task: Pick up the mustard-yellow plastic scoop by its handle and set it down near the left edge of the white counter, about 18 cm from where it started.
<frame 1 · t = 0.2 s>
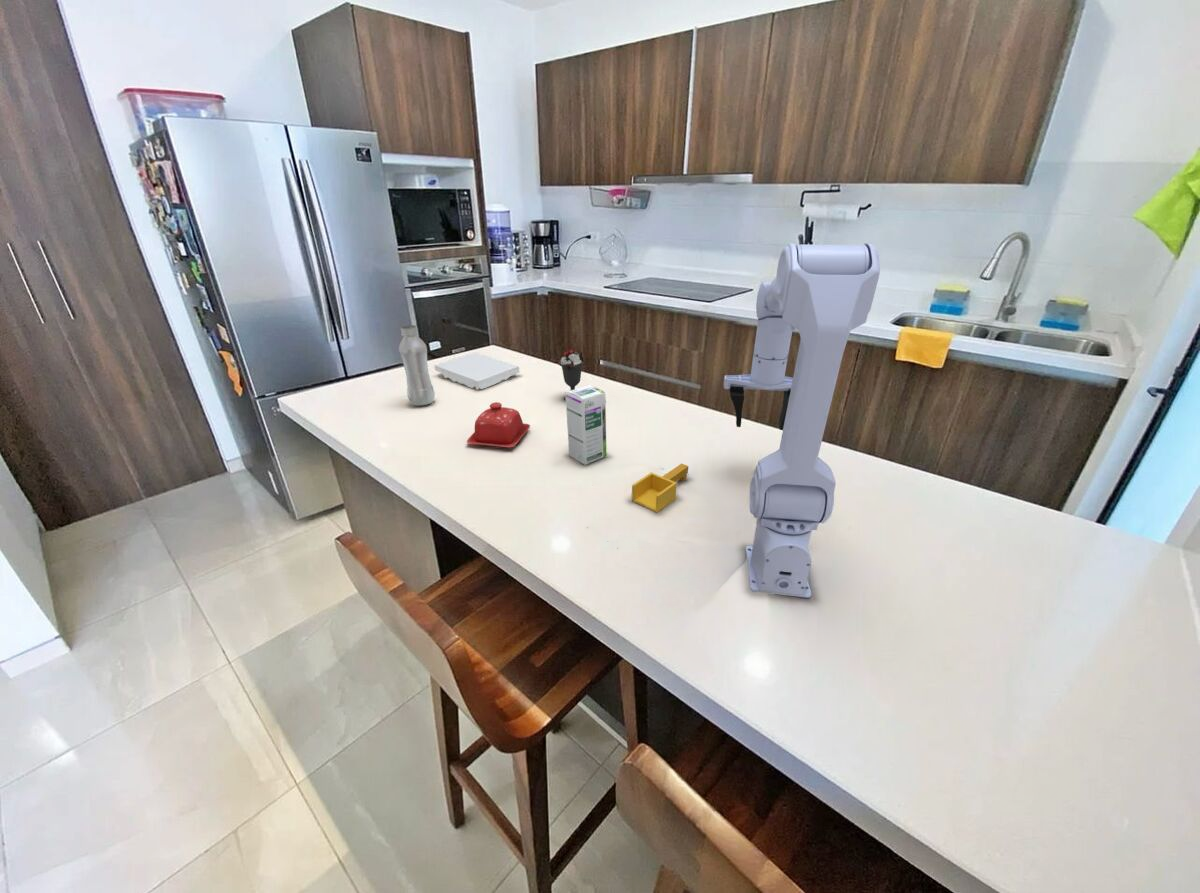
hand: (759, 426, 92), 10 cm above the counter, tool pointing down, fingers open, 7 cm apart
scoop: (653, 500, 89), on the counter
plastic bottle: (423, 404, 130), on the counter
food packaging: (477, 376, 148), on the counter
butter dish: (499, 439, 111), on the counter
syrup box: (587, 457, 103), on the counter
sundae: (573, 399, 131), on the counter
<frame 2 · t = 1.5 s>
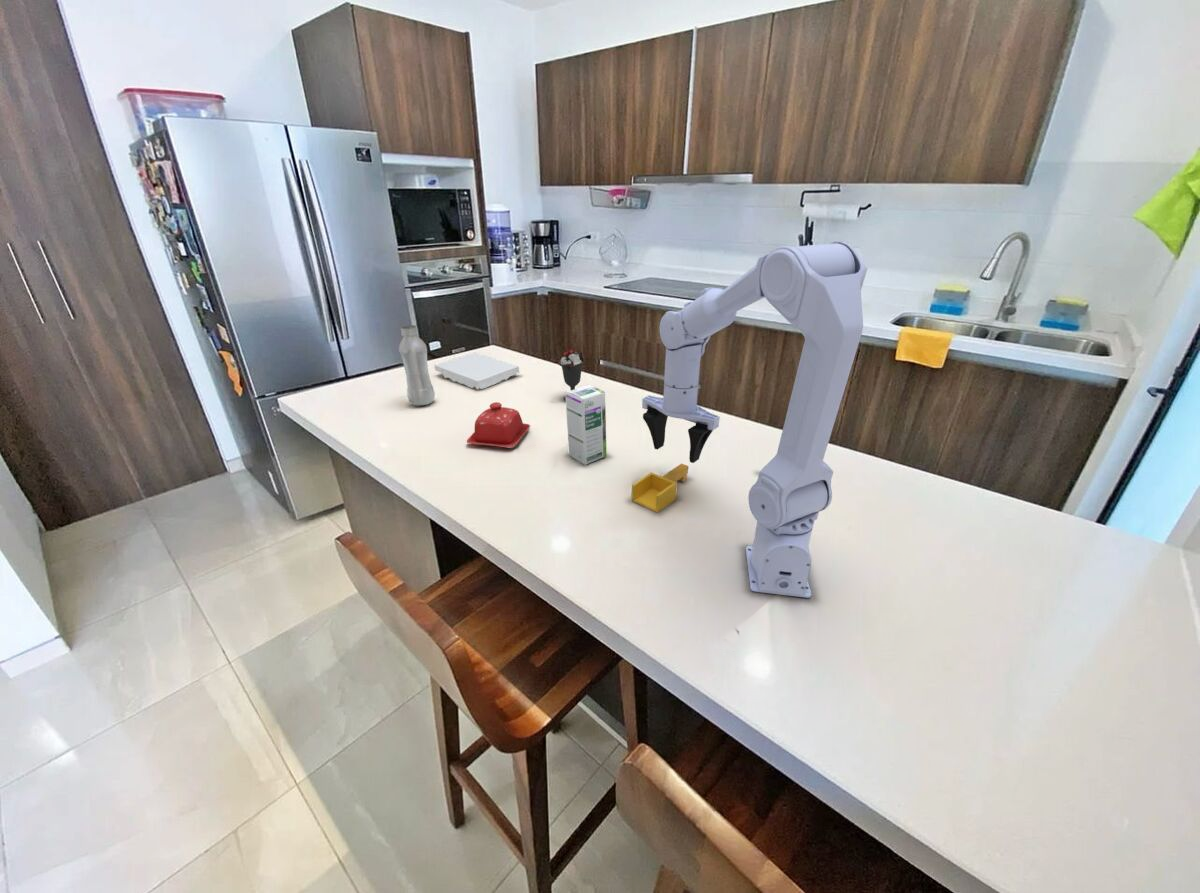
hand: (676, 453, 90), 7 cm above the counter, tool pointing down, fingers open, 7 cm apart
nothing on the counter moved.
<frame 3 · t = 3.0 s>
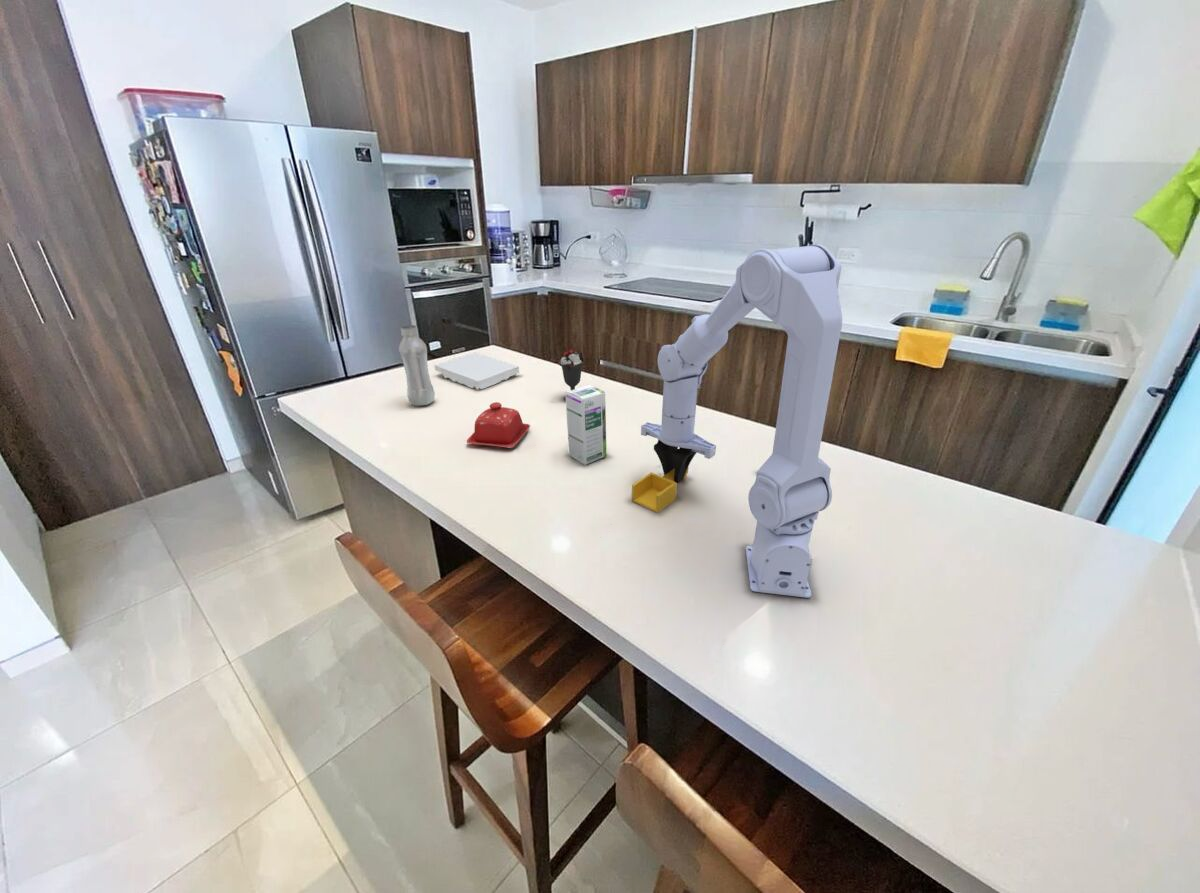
hand: (674, 479, 92), 1 cm above the counter, tool pointing down, fingers closed on scoop, 2 cm apart
scoop: (653, 500, 89), on the counter, touching gripper
everything else where it was.
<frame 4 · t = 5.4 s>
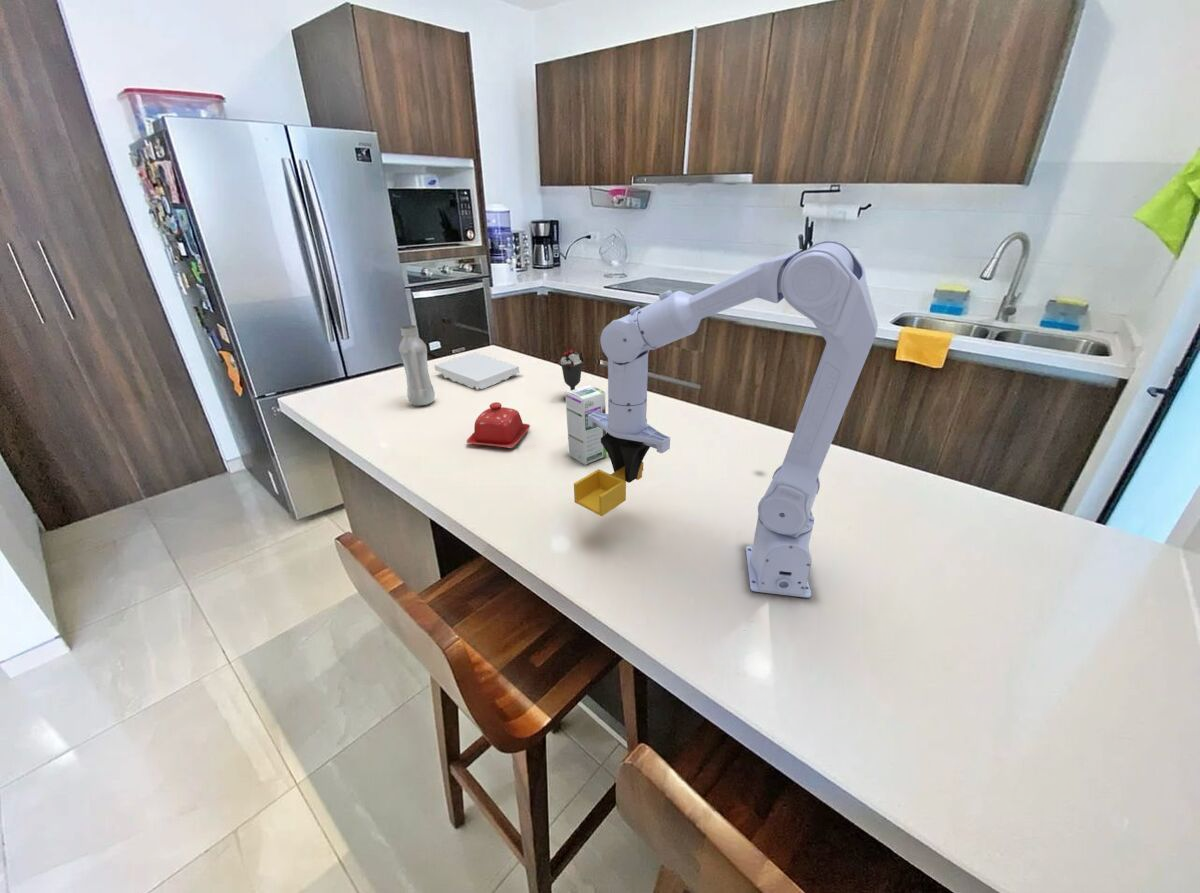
hand: (626, 477, 80), 8 cm above the counter, tool pointing down, fingers closed on scoop
scoop: (600, 501, 76), point 7 cm above the counter, touching gripper
everything else where it was.
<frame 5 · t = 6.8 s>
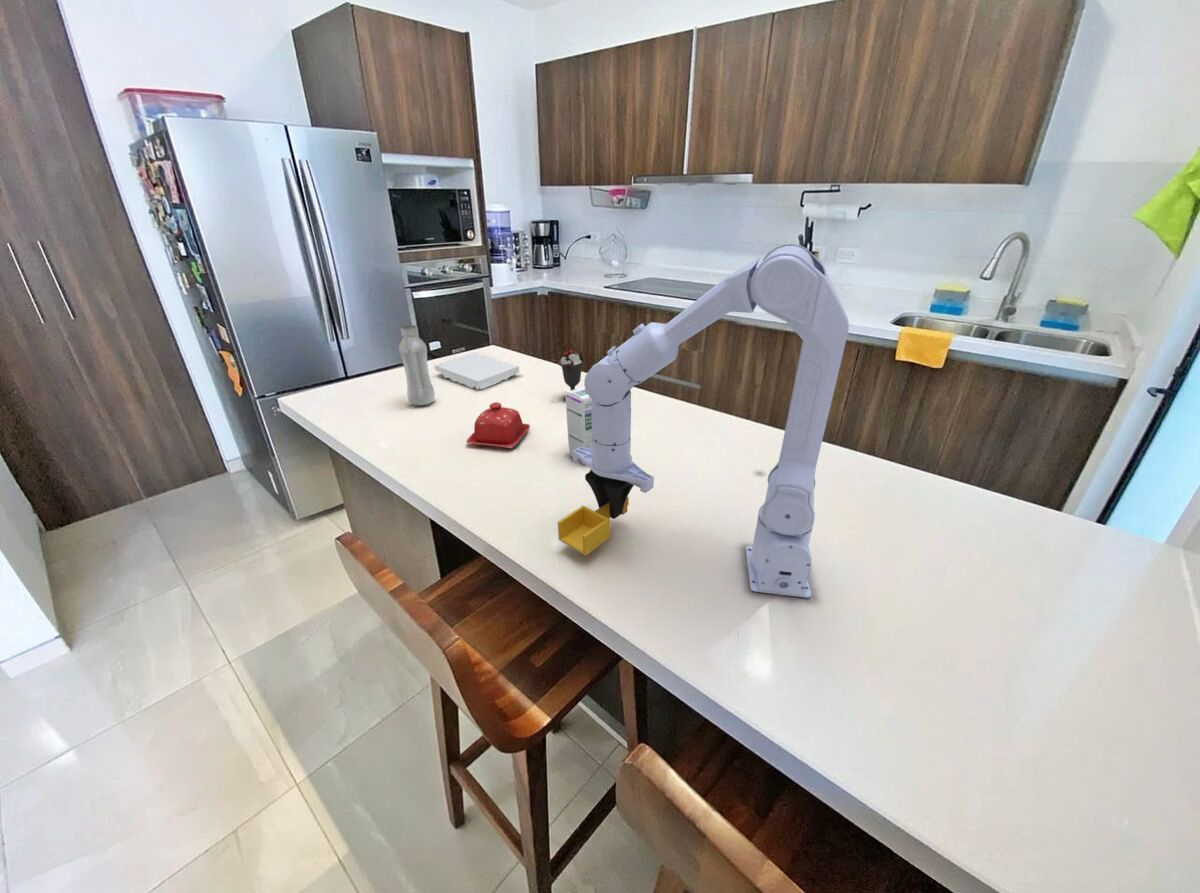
hand: (611, 512, 80), 3 cm above the counter, tool pointing down, fingers closed on scoop, 2 cm apart
scoop: (584, 538, 76), point 2 cm above the counter, touching gripper
everything else where it was.
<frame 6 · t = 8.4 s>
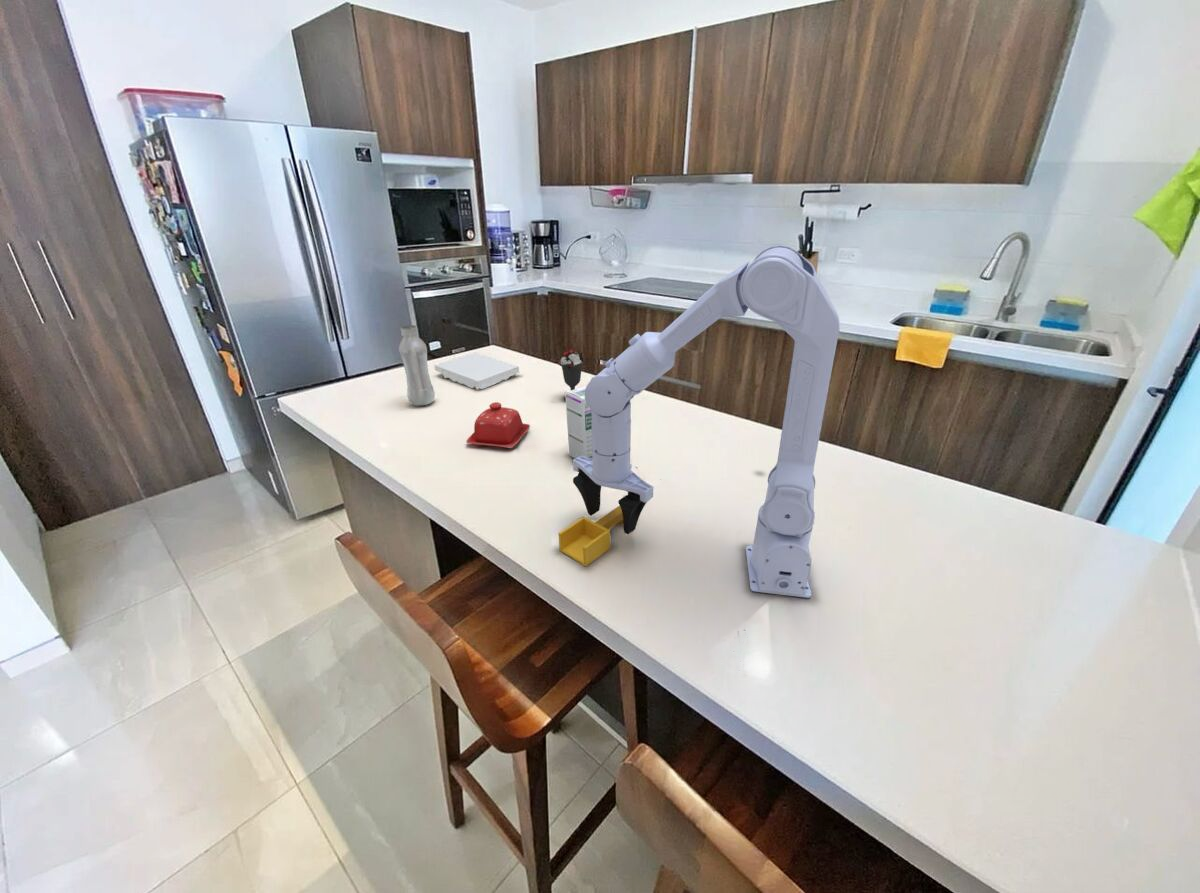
hand: (611, 521, 80), 2 cm above the counter, tool pointing down, fingers open, 7 cm apart
scoop: (584, 549, 77), on the counter
everything else where it was.
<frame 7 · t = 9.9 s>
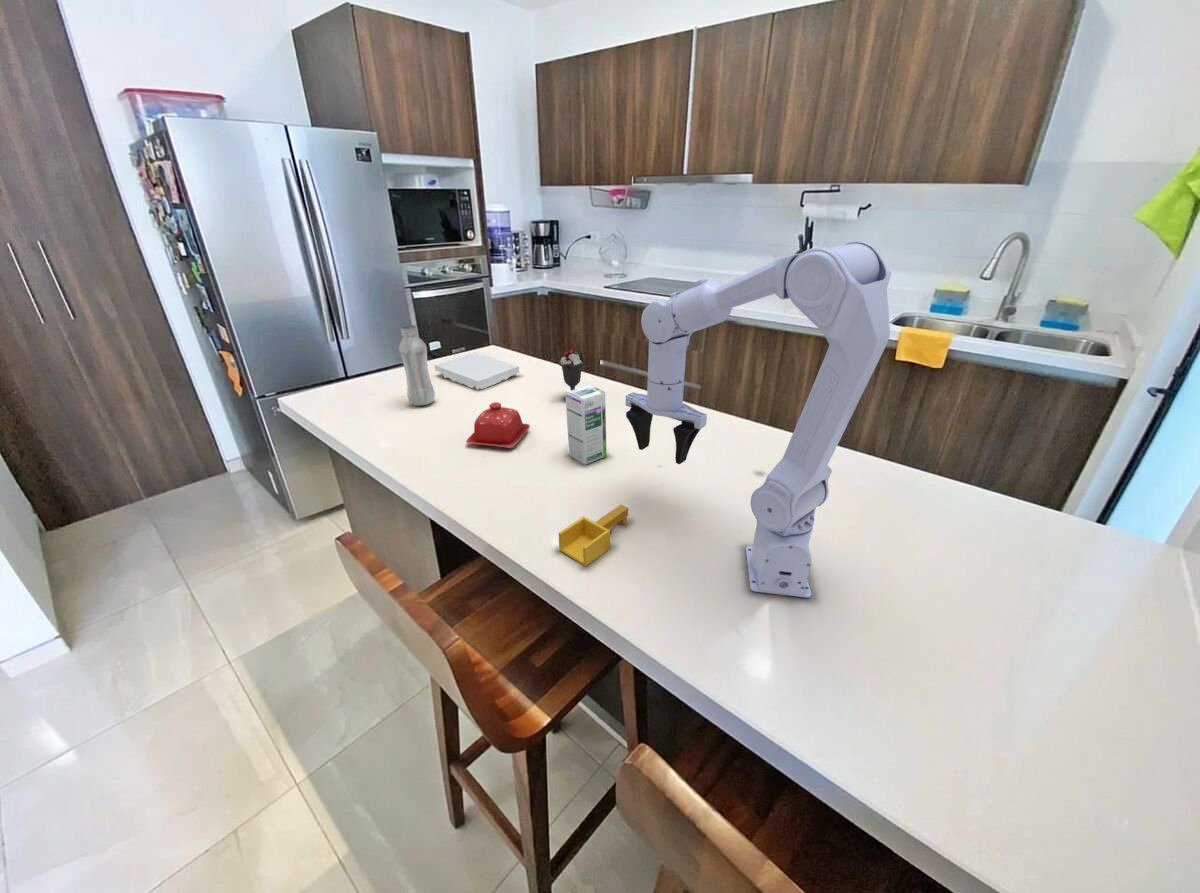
hand: (661, 454, 84), 9 cm above the counter, tool pointing down, fingers open, 7 cm apart
nothing on the counter moved.
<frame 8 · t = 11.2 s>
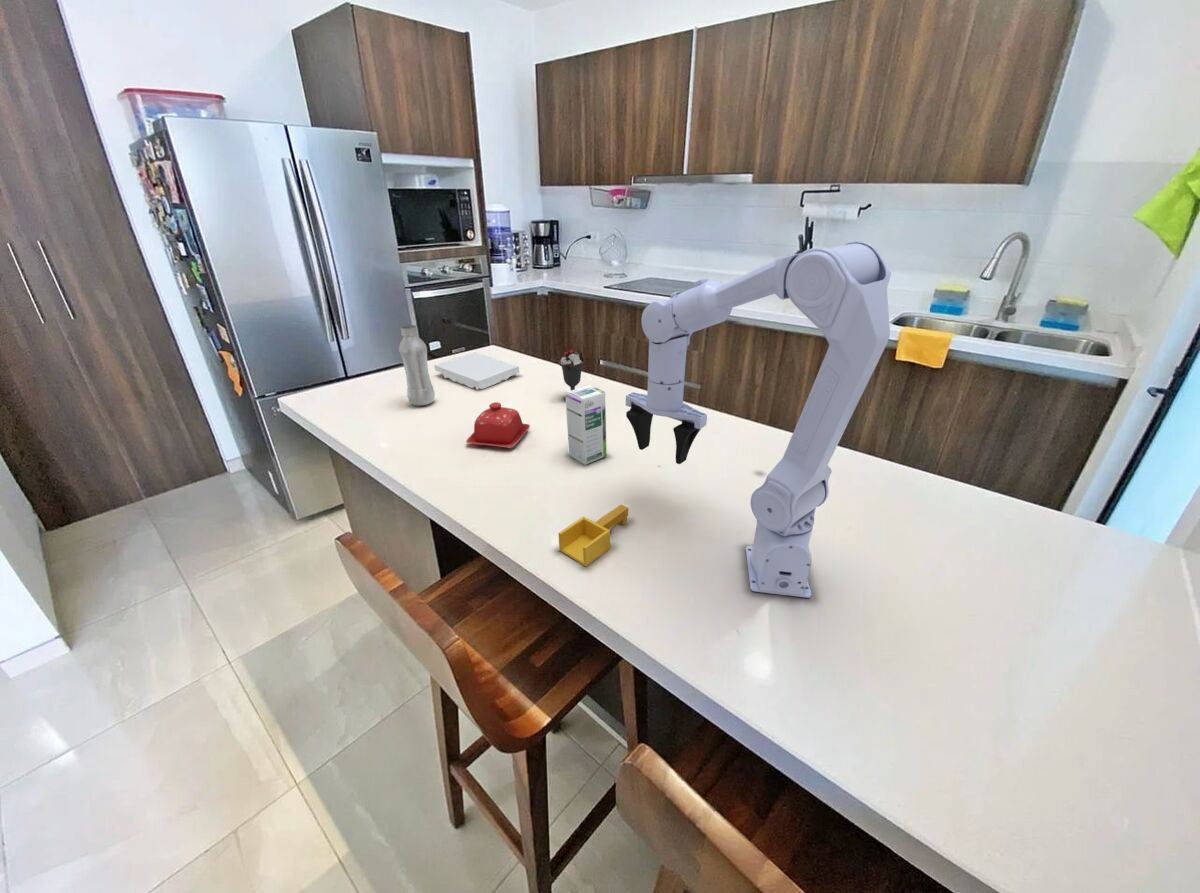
hand: (662, 454, 84), 9 cm above the counter, tool pointing down, fingers open, 7 cm apart
nothing on the counter moved.
at the end: scoop 0.1 cm from the target spot, on the counter; scoop moved 18.0 cm from its start; the gripper is holding nothing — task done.
